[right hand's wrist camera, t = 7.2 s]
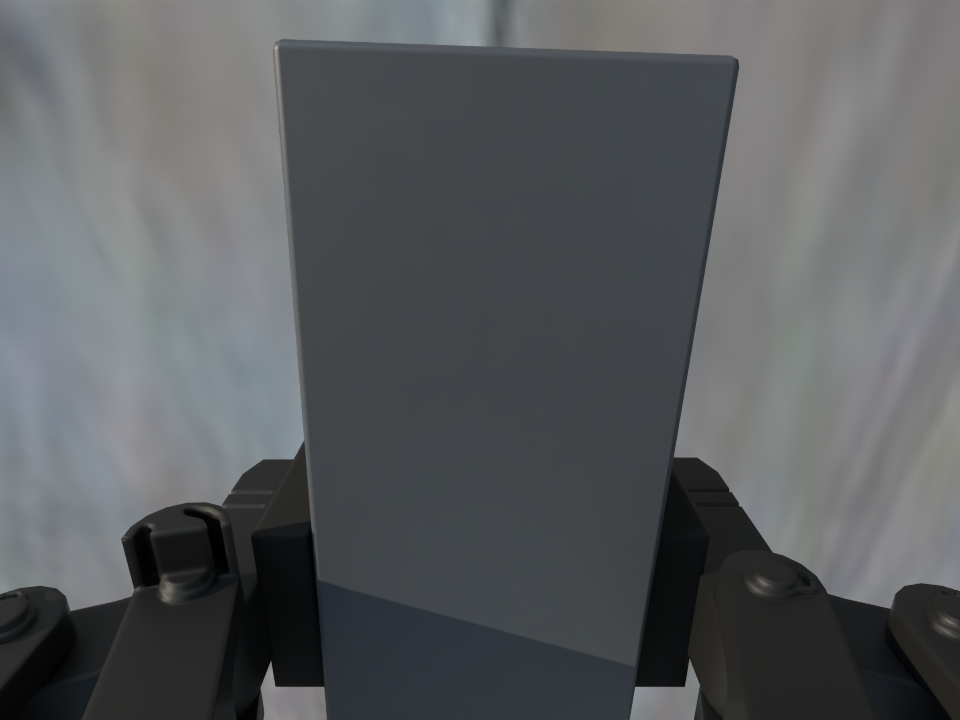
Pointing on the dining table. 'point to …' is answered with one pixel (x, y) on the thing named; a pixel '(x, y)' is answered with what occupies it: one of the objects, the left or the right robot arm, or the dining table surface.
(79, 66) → the dining table surface
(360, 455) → the plank
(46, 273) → the dining table surface
